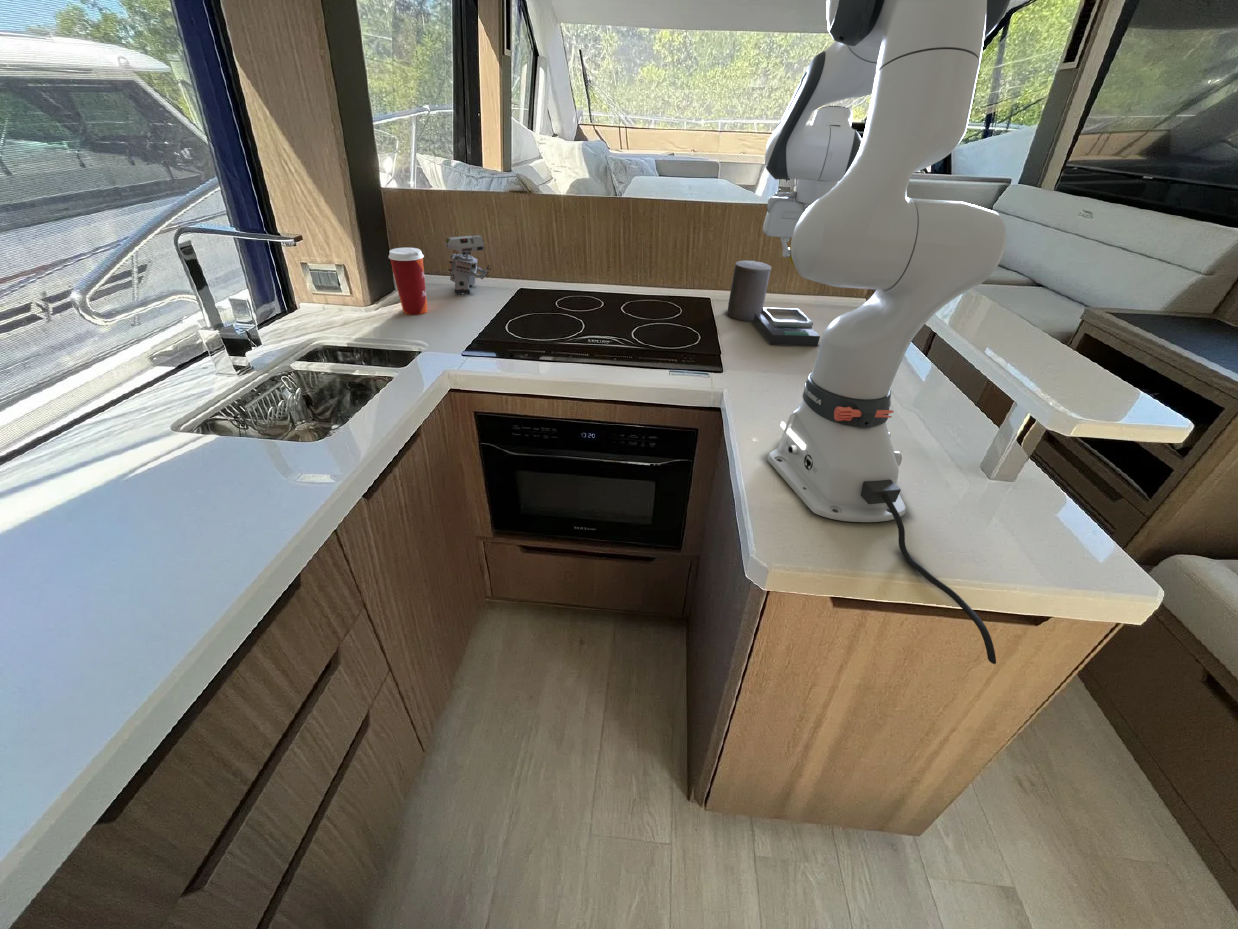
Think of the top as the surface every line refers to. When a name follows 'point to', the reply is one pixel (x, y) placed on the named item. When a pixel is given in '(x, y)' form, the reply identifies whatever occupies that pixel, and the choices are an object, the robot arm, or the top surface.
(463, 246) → the figurine
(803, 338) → the scale
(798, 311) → the scale pan
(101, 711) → the top surface
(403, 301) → the coffee cup
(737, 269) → the pillar candle
